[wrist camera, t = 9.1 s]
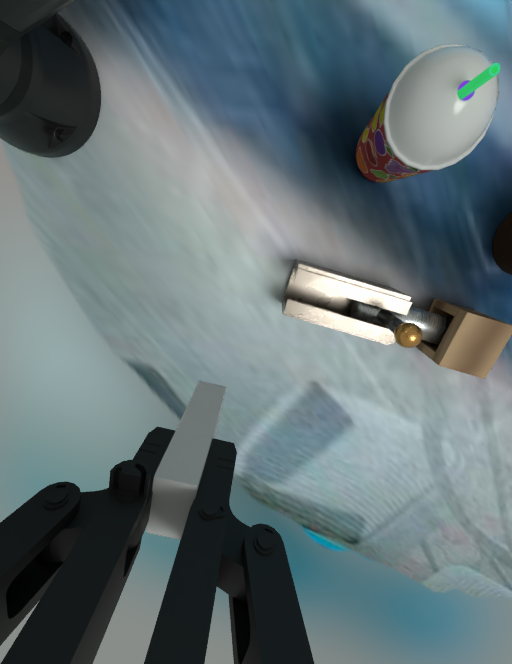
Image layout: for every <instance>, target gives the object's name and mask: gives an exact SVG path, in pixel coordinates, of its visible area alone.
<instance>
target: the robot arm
mask: <svg viewBox="0 0 512 664" xmlns="http://www.w3.org/2000/svg"><path fill="white" fill-rule="evenodd" d="M74 1H75V0H0V138H1V139H3V140H4V141H6V142H7V143H9V144H11V145H12V146H14V147H16V148H18V149H21V150H23V151H26V152H29V153H32V154H35V155H39V156H44V157H61V156H65V155H68V154H70V153H72V152H74V151H76V150H77V149H79V148H80V147H81V146H82V145H83V144H84V143H85V142H86V141H87V140H88V139H89V137H90V136H91V134H92V132H93V131H94V128H95V126H96V123H97V121H98V117H99V112H100V105H101V90H100V82H99V77H98V73H97V69H96V66H95V63H94V61H93V58H92V56H91V54H90V52H89V50H88V48H87V46H86V45H85V43H84V42H83V40H82V39H81V37H80V36H79V35H78V33H77V32H76V31H75V30H74V29H73V28H72V27H71V26H70V25H69V24H68V23H67V22H66V21H65V20H64V19H63V18H62V17H61V16H60V15H59V14H58V12H59V11H61V10H62V9H64V8H65V7H67V6H68V5H69V4H71V3H72V2H74ZM225 391H226V387H224V386H220V385H216V384H211V383H207V382H203V381H199V383H198V385H197V387H196V389H195V391H194V393H193V395H192V397H191V400H190V402H189V404H188V406H187V408H186V410H185V412H184V414H183V416H182V418H181V421H180V423H179V425H178V427H177V429H176V431H174V430H170V429H166V428H161V427H156V428H155V429H154V430H152V431H151V432H149V433H148V435H147V437H146V438H145V440H144V442H143V443H142V445H141V447H140V448H139V451H138V452H137V453H136V455H135V457H134V458H133V460H127V461H123V462H121V463H119V464H117V465H115V466H114V468H113V469H112V470H111V471H110V482H109V488H107V489H104V490H100V491H94V492H80V489H79V487H78V486H76V485H75V484H74V483H70V482H58V483H55V484H52V485H49V486H47V487H46V488H44V489H42V490H41V491H39V492H38V493H37V494H36V495H34V496H33V497H32V498H31V499H29V500H28V501H27V502H26V503H24V504H23V505H22V506H21V507H20V508H18V509H17V510H16V511H14V512H13V513H12V514H11V515H9V516H8V517H7V518H6V519H5V520H3V521H2V522H1V523H0V645H1V644H2V643H3V642H4V641H5V640H6V639H7V637H8V636H9V635H10V634H11V632H13V630H14V629H15V628H16V627H17V626H18V625H19V623H20V622H21V621H22V620H23V619H24V618H25V616H26V615H27V614H28V613H29V612H30V611H31V610H32V608H33V607H34V606H35V605H36V604H37V603H38V601H39V600H40V601H39V603H38V604H37V606H36V608H35V609H34V611H33V612H32V614H31V616H30V617H29V619H28V620H27V622H26V624H25V625H24V627H23V629H22V630H21V632H20V633H19V635H18V637H17V638H16V640H15V641H14V643H13V645H12V647H11V648H10V650H9V651H8V653H7V655H6V656H5V658H4V659H3V661H2V662H1V664H93V661H94V658H95V656H96V654H97V651H98V649H99V646H100V644H101V642H102V639H103V637H104V634H105V632H106V629H107V627H108V624H109V622H110V619H111V617H112V615H113V612H114V610H115V607H116V605H117V602H118V600H119V598H120V595H121V593H122V590H123V588H124V585H125V583H126V581H127V578H128V576H129V573H130V571H131V568H132V566H133V564H134V561H135V558H136V556H137V554H138V551H139V549H140V544H141V539H142V535H143V533H144V531H145V528H146V526H147V528H146V532H147V533H151V534H156V535H161V536H165V537H170V538H174V539H179V540H181V541H180V544H179V547H178V551H177V554H176V558H175V561H174V565H173V568H172V571H171V575H170V578H169V581H168V584H167V588H166V591H165V595H164V598H163V601H162V605H161V608H160V611H159V615H158V618H157V621H156V625H155V628H154V632H153V635H152V638H151V642H150V645H149V649H148V652H147V655H146V659H145V662H144V664H204V662H205V656H206V649H207V643H208V637H209V631H210V624H211V617H212V611H213V606H214V599H215V593H216V587H219V588H220V589H222V590H223V591H225V592H226V593H227V594H229V607H230V619H231V632H232V644H233V657H234V664H314V661H313V657H312V653H311V649H310V645H309V641H308V637H307V634H306V629H305V626H304V622H303V618H302V614H301V610H300V606H299V602H298V598H297V594H296V590H295V586H294V582H293V579H292V575H291V571H290V567H289V563H288V559H287V555H286V551H285V547H284V543H283V541H282V538H281V536H280V534H279V533H278V532H277V531H276V530H275V529H274V528H272V527H270V526H269V525H265V524H256V525H253V526H252V527H251V528H250V527H249V526H247V525H245V524H244V523H242V522H241V521H239V520H238V519H237V518H236V517H235V516H234V515H233V514H232V512H231V509H230V506H229V498H230V492H231V485H232V479H233V473H234V467H235V460H236V454H237V451H236V448H235V445H234V443H231V442H226V441H222V440H218V439H214V438H215V434H216V430H217V427H218V422H219V418H220V413H221V409H222V404H223V400H224V396H225Z"/></svg>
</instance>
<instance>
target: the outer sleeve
mask: <svg viewBox="0 0 512 664" xmlns="http://www.w3.org/2000/svg"><path fill="white" fill-rule="evenodd" d="M410 299H411V297H410V296H408V295H406V294H404V293H401V292H399V291H397V290H395V289H393V288H390V287H387V286H383V285H380V284H377V283H373V282H370V281H367V280H363V279H360V278H357V277H353V276H350V275H347V274H343V273H340V272H337V271H333V270H330V269H327V268H323V267H320V266H316V265H313V264H310V263H306V262H303V261H300V260H295V263H294V266H293V270H292V273H291V276H290V279H289V282H288V285H287V288H286V291H285V295H284V298H283V301H282V313H283V314H284V315H287V316H291V317H294V318H298V319H301V320H305V321H308V322H311V323H315V324H318V325H322V326H325V327H328V328H332V329H335V330H339V331H342V332H346V333H349V334H352V335H356V336H359V337H363V338H366V339H369V340H373V341H376V342H380V343H383V344H387V345H389V344H390V343H392V344H393V343H394V341H395V338H394V333H393V332H391V331H390V330H389V329H388V328H387V327H384V326H381V325H377V324H374V323H370V322H367V321H364V320H360V319H357V318H353V317H351V308H352V305H353V302H354V300H356V301H360V302H363V303H367V304H370V305H373V306H377V307H380V308H383V309H387V310H390V311H394V312H397V313H400V314H404V315H407V313H408V311H409V309H410V307H411V304H412V302H410Z"/></svg>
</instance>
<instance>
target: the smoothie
mask: <svg viewBox="0 0 512 664" xmlns="http://www.w3.org/2000/svg"><path fill="white" fill-rule="evenodd" d="M499 71H500V65H499V63H494V64H493V63H492V62H491V61H490V60H489V59H488V58H487V57H486V56H485V55H484V54H483V53H482V52H481V51H479V50H476V49H474V48H471V47H468V46H463V45H460V44H447V45H438V46H436V47H434V48H431V49H429V50H427V51H424V52H422V53H421V54H419V55H418V56H417V57H416V58H414V59H413V60H412V61H411V62H410V63H408V64H407V65H406V66H405V67H404V69H403V70H402V72H401V73H400V74H399V76H398V77H397V79H396V80H395V82H394V83H393V85H392V88H391V90H390V91H389V93H388V94H387V96H386V97H385V99H384V100H383V102H382V103H381V105H380V107H379V108H378V110H377V111H376V113H375V114H374V116H373V117H372V119H371V120H370V122H369V124H368V125H367V127H366V128H365V130H364V131H363V133H362V134H361V136H360V138H359V141H358V144H357V147H356V161H357V165H358V168H359V169H360V171H361V173H362V174H363V175H364V176H365V177H366V178H368V179H369V180H371V181H375V182H378V183H381V182H389V181H393V180H397V179H401V178H405V177H409V176H413V175H417V174H420V173H424V172H428V171H432V170H439V169H442V168H445V167H448V166H450V165H453V164H455V163H457V162H458V161H460V160H461V159H463V158H464V157H465V156H467V155H468V154H470V153H471V152H472V151H473V149H474V148H475V147H476V146H477V145H478V143H479V142H480V141H481V140H482V139H483V137H484V135H485V133H486V131H487V129H488V127H489V125H490V123H491V121H492V119H493V115H494V112H495V109H496V105H497V100H498V95H499V86H498V75H497V74H498V73H499Z"/></svg>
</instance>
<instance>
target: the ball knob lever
mask: <svg viewBox="0 0 512 664" xmlns="http://www.w3.org/2000/svg"><path fill="white" fill-rule="evenodd" d="M351 317H353V318H357V319H360V320H364V321H367V322H370V323H374V324H377V325H381V326H384V327H387V328H388V329H389V330H390V331H391V332H393V333H394V338H395V340H396V342H397V343H398V344H399V345H400V346H402V347H405V348H412V347H415V346H417V345H418V344H419V343H420V342H421V340H424V341H427V342H431V343H434V344H437V345H440V343H441V341H442V339H443V337H444V335H445V333H446V331H447V329H448V327H449V325H450V324H451V322H452V320H453V319H452V318H449V317H446V316H442V315H439V314H436V313H432V312H429V311H426V310H422V309H419V308H415V307H412V306H411V307H410V309H409V311H408V313H407V315H404V314H400V313H397V312H394V311H390V310H387V309H383V308H380V307H377V306H373V305H370V304H367V303H363V302H360V301H356V300H354V302H353V305H352V308H351Z"/></svg>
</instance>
